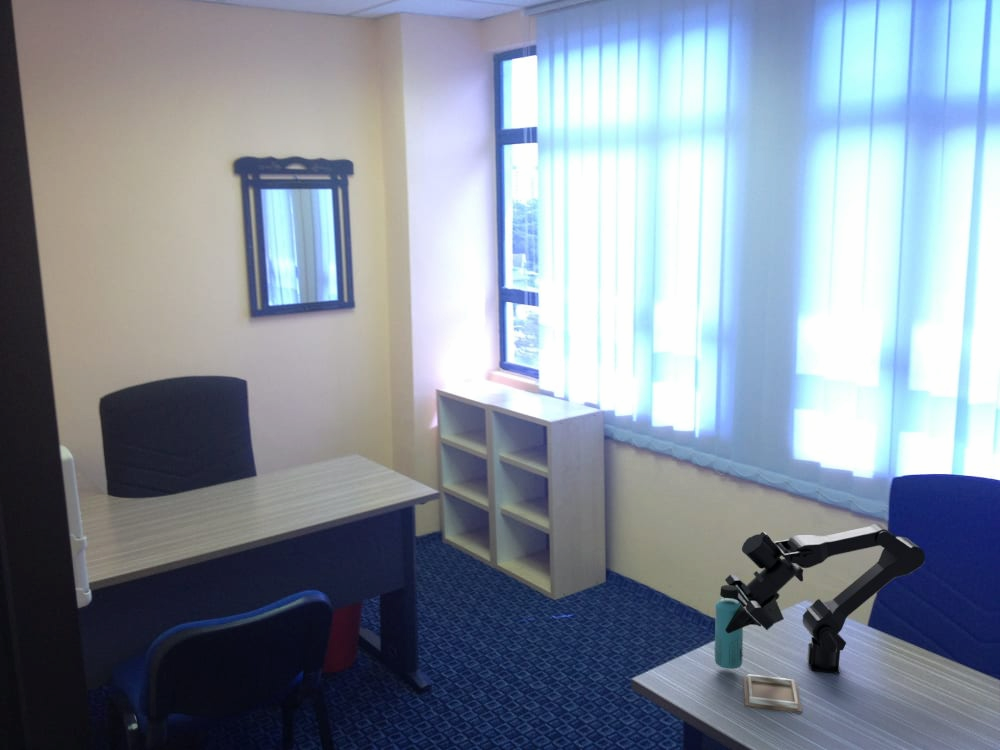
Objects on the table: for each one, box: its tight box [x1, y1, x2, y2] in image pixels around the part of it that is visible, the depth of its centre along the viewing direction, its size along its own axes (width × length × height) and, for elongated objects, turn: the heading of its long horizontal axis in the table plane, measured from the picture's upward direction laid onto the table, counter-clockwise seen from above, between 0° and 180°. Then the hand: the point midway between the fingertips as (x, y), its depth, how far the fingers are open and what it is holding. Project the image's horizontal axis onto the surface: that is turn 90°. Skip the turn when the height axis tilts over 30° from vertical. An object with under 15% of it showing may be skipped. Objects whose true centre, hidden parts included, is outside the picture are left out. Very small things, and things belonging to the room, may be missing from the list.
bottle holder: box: [742, 673, 803, 714], centre depth 204 cm, size 12×12×2 cm
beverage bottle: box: [713, 584, 744, 670], centre depth 212 cm, size 6×7×20 cm
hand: (722, 625), depth 212 cm, fingers closed on beverage bottle, 6 cm apart
